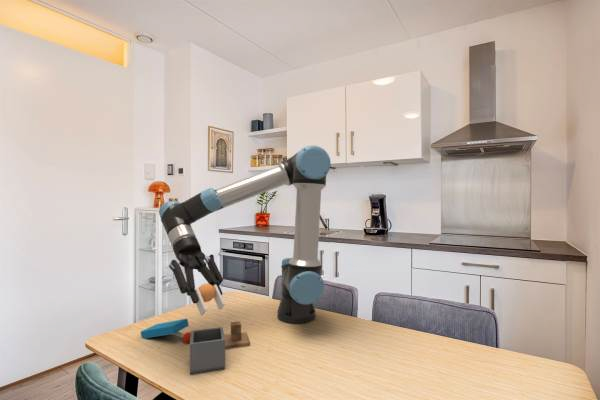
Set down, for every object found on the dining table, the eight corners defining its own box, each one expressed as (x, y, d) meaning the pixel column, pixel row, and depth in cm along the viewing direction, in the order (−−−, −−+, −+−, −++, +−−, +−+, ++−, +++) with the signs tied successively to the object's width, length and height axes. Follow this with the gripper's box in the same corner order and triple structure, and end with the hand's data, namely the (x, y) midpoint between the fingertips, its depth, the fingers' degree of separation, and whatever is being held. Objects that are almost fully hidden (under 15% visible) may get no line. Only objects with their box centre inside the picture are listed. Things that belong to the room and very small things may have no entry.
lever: (144, 352, 103) (185, 347, 96) (140, 331, 103) (180, 324, 97) (160, 343, 109) (200, 338, 103) (156, 324, 110) (195, 316, 103)
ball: (214, 298, 90) (214, 281, 90) (215, 303, 85) (215, 285, 85) (196, 299, 89) (196, 282, 89) (196, 305, 84) (196, 287, 84)
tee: (246, 335, 105) (246, 317, 105) (250, 345, 97) (250, 326, 97) (222, 338, 103) (222, 320, 103) (224, 349, 95) (224, 329, 95)
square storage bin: (222, 353, 93) (222, 326, 93) (224, 369, 84) (224, 339, 84) (191, 358, 90) (191, 330, 90) (189, 374, 81) (189, 344, 81)
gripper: (206, 247, 104) (234, 308, 93) (151, 254, 91) (176, 326, 79) (215, 233, 100) (245, 294, 89) (159, 237, 87) (186, 310, 76)
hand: (213, 309), depth 84 cm, fingers closed on ball, 5 cm apart
